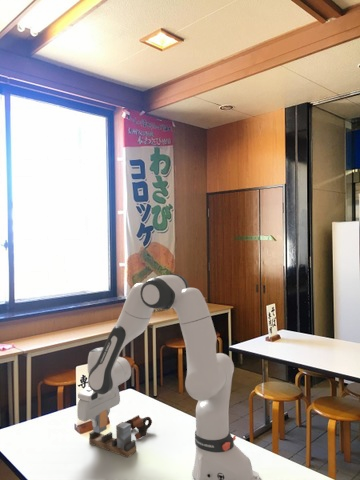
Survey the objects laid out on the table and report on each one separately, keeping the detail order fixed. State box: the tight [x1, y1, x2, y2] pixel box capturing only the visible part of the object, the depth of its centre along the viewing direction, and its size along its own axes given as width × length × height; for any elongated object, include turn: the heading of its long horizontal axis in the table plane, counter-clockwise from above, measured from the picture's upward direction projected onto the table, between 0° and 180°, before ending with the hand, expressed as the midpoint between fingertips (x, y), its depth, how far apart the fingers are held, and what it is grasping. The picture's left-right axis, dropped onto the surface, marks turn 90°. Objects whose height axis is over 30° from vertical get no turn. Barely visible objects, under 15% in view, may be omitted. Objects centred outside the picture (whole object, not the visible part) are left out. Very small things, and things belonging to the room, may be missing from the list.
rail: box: [88, 421, 137, 458], centre depth 155 cm, size 20×5×10 cm, turn 56°
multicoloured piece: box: [92, 410, 108, 434], centre depth 159 cm, size 4×4×8 cm
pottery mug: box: [124, 414, 153, 441], centre depth 166 cm, size 12×10×8 cm
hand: (100, 423), depth 159 cm, fingers closed on multicoloured piece, 4 cm apart
